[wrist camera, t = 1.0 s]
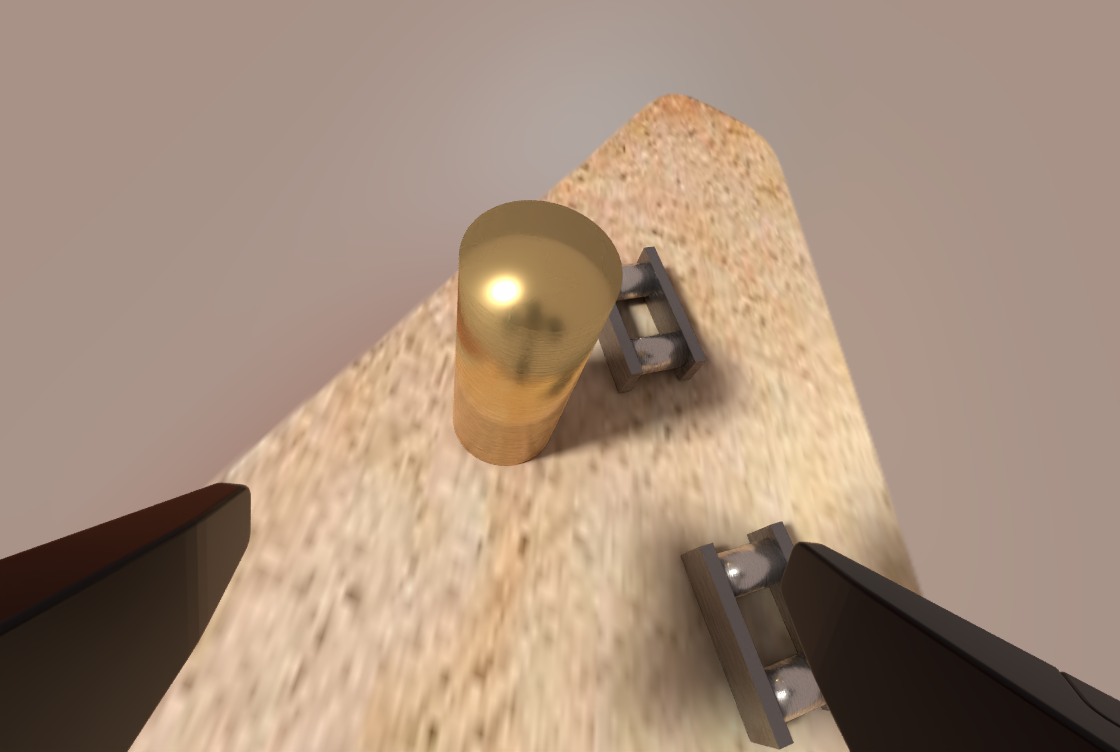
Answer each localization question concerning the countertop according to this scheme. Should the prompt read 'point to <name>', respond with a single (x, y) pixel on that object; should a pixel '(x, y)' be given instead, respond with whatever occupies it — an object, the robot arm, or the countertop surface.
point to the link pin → (526, 323)
